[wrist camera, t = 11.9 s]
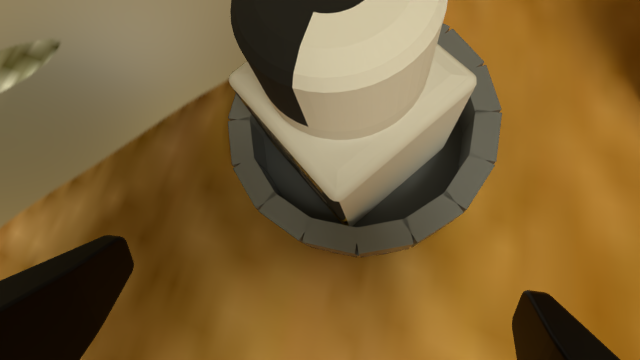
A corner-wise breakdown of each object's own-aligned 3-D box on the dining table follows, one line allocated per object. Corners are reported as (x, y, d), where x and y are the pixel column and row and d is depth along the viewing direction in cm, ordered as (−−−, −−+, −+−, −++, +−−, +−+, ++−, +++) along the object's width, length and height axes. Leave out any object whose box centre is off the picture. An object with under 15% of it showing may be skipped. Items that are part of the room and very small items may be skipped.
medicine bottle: (269, 140, 21) (152, -21, 10) (360, 66, 22) (346, -168, 11) (348, 231, 19) (313, 158, 8) (445, 146, 20) (544, -37, 8)
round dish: (525, 104, 20) (552, 74, 17) (395, 308, 19) (400, 314, 15) (331, 9, 24) (325, -31, 21) (205, 171, 22) (179, 153, 19)
